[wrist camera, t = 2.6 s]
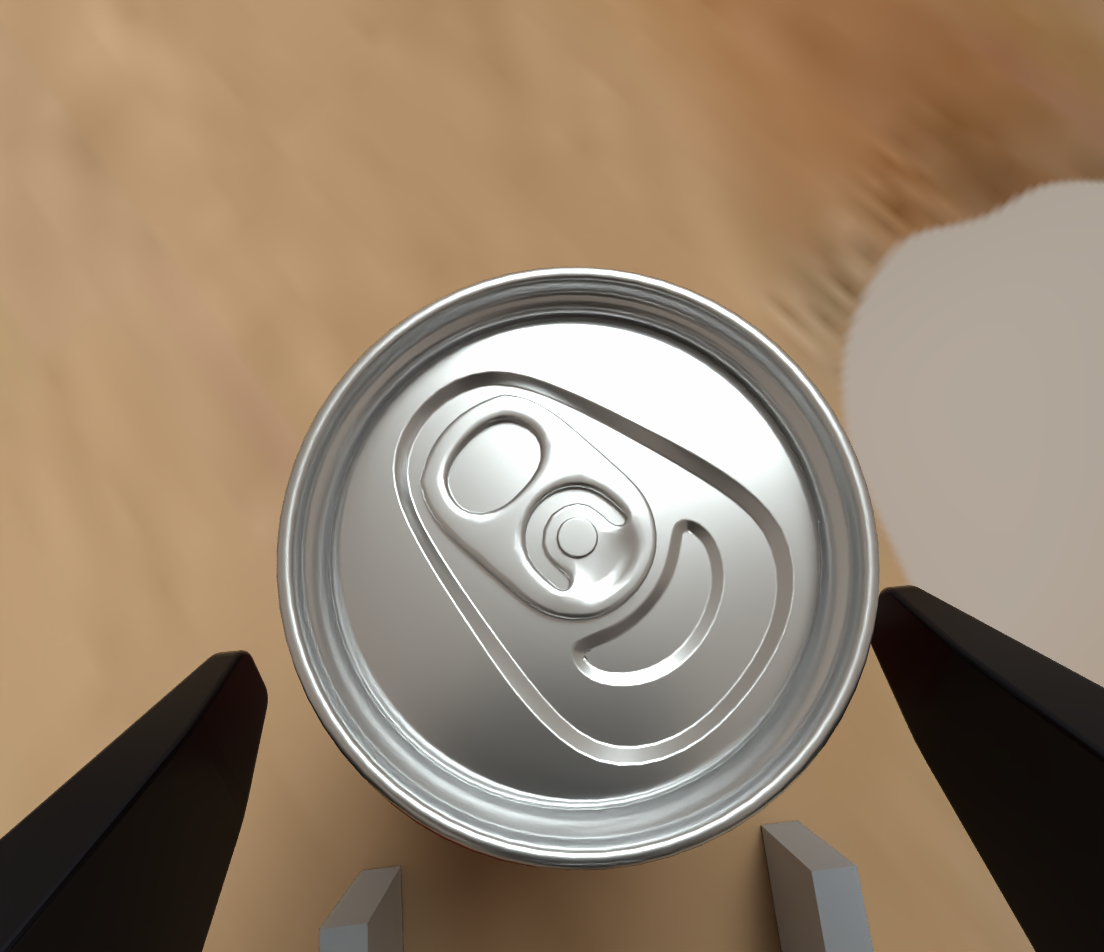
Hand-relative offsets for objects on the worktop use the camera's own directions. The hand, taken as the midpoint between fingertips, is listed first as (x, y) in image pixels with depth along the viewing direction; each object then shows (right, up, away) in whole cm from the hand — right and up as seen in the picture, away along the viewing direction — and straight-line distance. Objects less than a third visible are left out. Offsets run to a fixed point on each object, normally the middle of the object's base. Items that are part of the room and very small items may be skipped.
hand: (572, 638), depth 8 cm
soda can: (0, -1, +9) cm, 9 cm away
